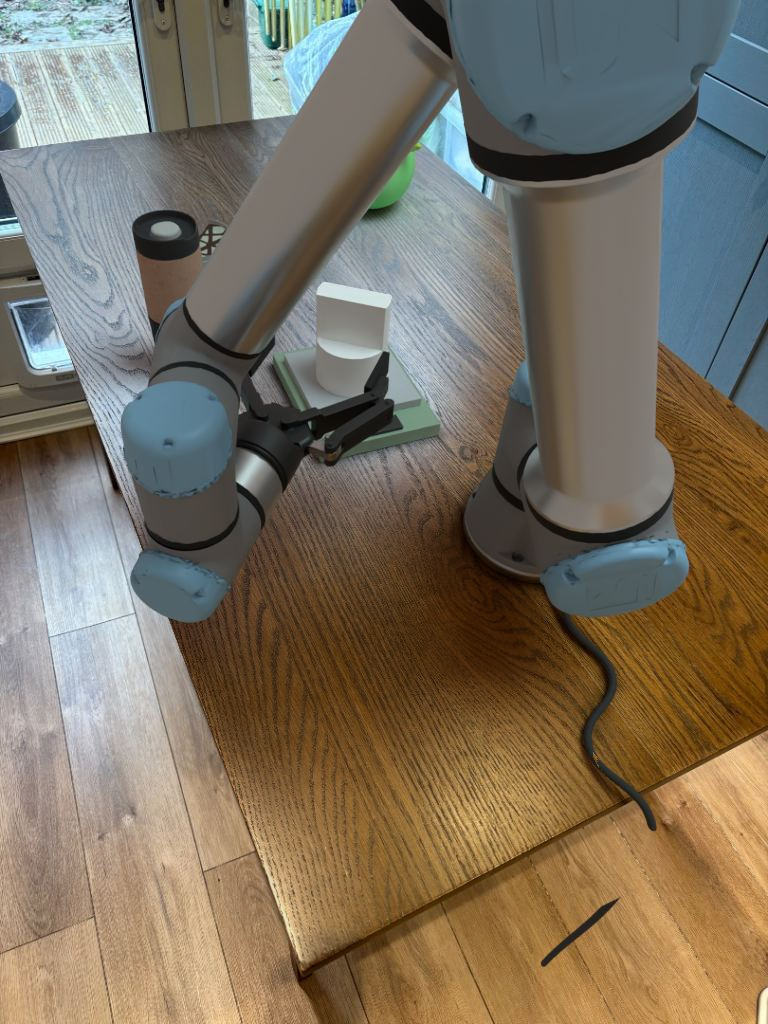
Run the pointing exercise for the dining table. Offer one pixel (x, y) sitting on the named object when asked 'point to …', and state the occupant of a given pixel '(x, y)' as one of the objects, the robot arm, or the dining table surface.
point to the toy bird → (397, 182)
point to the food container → (211, 238)
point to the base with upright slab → (349, 336)
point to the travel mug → (166, 259)
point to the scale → (306, 393)
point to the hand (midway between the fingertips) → (328, 347)
